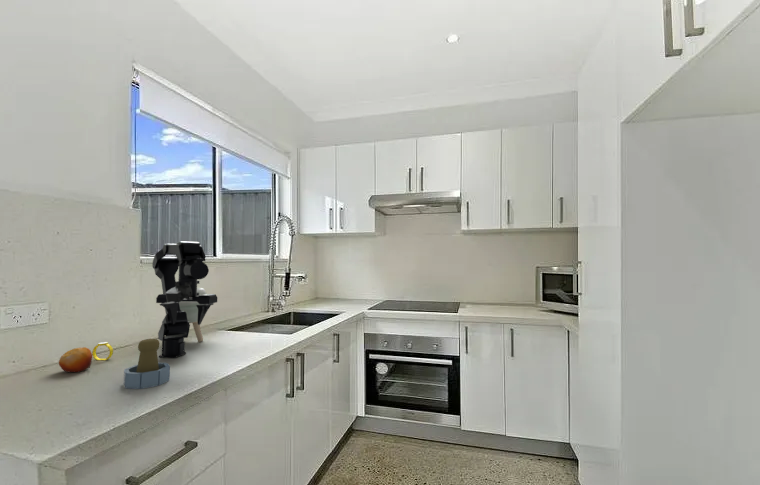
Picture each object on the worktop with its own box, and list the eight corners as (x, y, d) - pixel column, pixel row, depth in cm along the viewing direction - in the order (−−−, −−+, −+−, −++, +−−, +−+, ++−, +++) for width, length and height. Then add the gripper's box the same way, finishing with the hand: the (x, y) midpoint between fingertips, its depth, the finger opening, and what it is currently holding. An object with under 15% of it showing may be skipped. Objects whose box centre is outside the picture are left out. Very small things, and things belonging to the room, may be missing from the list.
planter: (174, 338, 158) (176, 287, 159) (212, 338, 160) (214, 287, 161) (155, 347, 142) (157, 290, 143) (198, 347, 144) (200, 290, 145)
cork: (140, 383, 99) (142, 342, 99) (130, 379, 102) (132, 339, 103) (163, 377, 104) (165, 338, 104) (153, 373, 107) (155, 336, 108)
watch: (90, 362, 123) (90, 344, 123) (96, 359, 125) (96, 342, 126) (109, 360, 123) (108, 343, 123) (114, 358, 126) (114, 341, 126)
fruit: (104, 362, 116) (91, 343, 113) (80, 381, 110) (66, 362, 106) (87, 359, 119) (74, 341, 116) (63, 378, 112) (48, 359, 109)
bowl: (114, 387, 98) (114, 372, 98) (143, 375, 108) (143, 361, 109) (150, 389, 97) (151, 374, 97) (176, 376, 108) (176, 363, 108)
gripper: (145, 278, 116) (142, 327, 115) (200, 279, 114) (198, 329, 113) (168, 277, 127) (166, 322, 126) (218, 278, 125) (217, 323, 125)
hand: (186, 324), depth 122 cm, fingers open, 9 cm apart
